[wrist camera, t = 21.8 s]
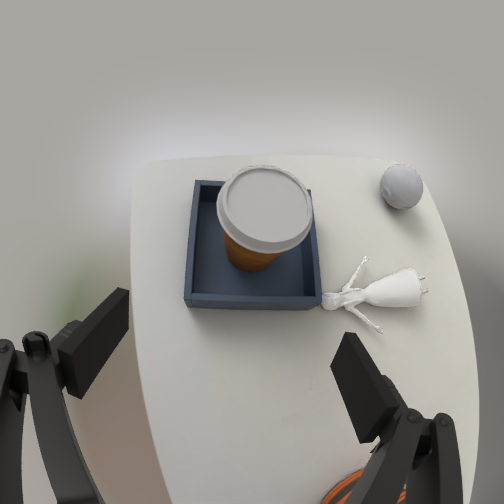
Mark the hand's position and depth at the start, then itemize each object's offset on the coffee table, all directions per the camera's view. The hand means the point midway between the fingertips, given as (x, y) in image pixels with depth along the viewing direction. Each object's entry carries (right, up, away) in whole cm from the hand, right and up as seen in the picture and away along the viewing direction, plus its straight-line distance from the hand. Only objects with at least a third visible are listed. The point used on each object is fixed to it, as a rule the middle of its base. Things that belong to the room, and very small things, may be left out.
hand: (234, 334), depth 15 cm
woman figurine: (+18, -2, +22) cm, 29 cm away
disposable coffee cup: (+1, +5, +21) cm, 22 cm away
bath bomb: (+26, +14, +30) cm, 42 cm away
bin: (+1, +5, +21) cm, 22 cm away
